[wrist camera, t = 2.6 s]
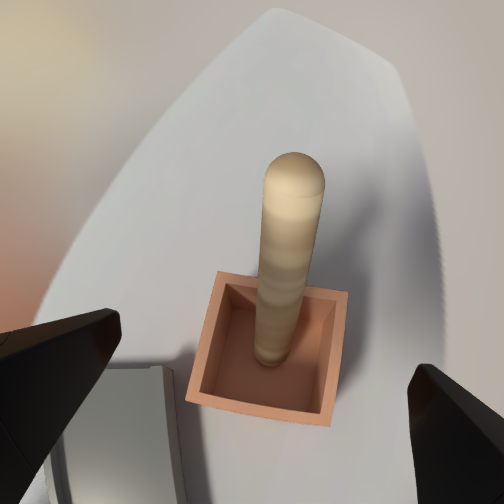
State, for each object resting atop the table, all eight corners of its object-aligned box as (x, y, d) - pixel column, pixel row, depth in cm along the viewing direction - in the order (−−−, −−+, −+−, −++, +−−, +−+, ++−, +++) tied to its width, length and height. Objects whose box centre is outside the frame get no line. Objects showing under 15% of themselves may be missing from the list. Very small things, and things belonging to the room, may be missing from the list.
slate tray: (205, 589, 11) (200, 603, 9) (84, 567, 11) (71, 575, 9) (172, 369, 19) (162, 365, 17) (55, 369, 19) (38, 364, 17)
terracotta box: (314, 421, 17) (330, 426, 13) (204, 402, 18) (184, 400, 14) (330, 317, 21) (348, 291, 16) (228, 301, 22) (217, 270, 17)
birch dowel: (285, 371, 18) (316, 305, 8) (251, 365, 19) (229, 290, 8) (299, 286, 21) (330, 145, 10) (268, 281, 22) (269, 136, 11)
